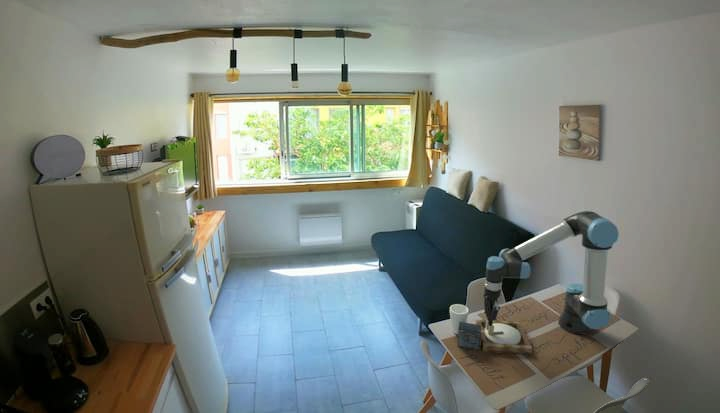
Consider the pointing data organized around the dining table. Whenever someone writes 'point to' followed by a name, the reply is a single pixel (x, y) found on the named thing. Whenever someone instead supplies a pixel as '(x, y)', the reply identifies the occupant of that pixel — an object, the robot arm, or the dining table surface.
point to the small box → (469, 335)
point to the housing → (521, 348)
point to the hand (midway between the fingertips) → (488, 329)
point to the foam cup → (458, 316)
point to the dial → (502, 334)
